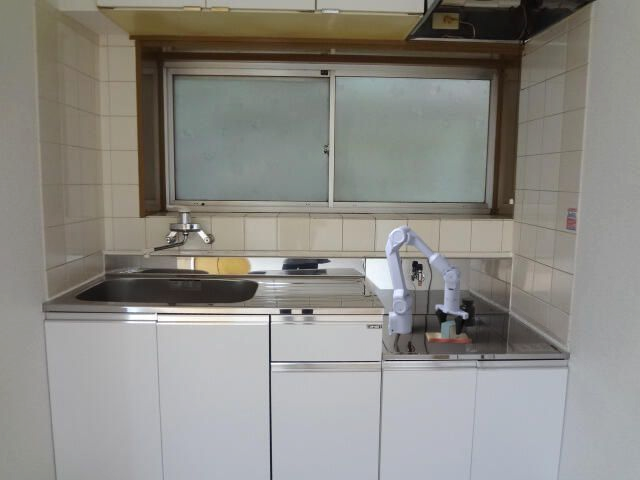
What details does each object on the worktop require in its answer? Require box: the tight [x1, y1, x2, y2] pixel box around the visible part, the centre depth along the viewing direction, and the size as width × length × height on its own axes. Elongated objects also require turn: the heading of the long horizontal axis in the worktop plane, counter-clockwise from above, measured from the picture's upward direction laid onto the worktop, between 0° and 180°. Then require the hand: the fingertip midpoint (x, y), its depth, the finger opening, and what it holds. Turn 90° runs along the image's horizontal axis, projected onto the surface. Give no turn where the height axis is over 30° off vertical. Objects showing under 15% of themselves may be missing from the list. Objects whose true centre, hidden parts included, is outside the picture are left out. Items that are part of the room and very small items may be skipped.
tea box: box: [440, 319, 459, 338], centre depth 176 cm, size 4×6×6 cm
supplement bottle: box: [459, 297, 477, 328], centre depth 191 cm, size 7×7×12 cm
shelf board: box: [425, 332, 473, 344], centre depth 177 cm, size 16×10×2 cm, turn 85°
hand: (450, 331), depth 176 cm, fingers open, 7 cm apart
